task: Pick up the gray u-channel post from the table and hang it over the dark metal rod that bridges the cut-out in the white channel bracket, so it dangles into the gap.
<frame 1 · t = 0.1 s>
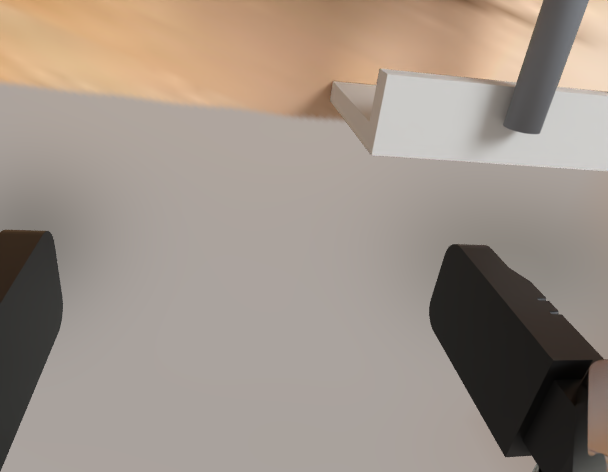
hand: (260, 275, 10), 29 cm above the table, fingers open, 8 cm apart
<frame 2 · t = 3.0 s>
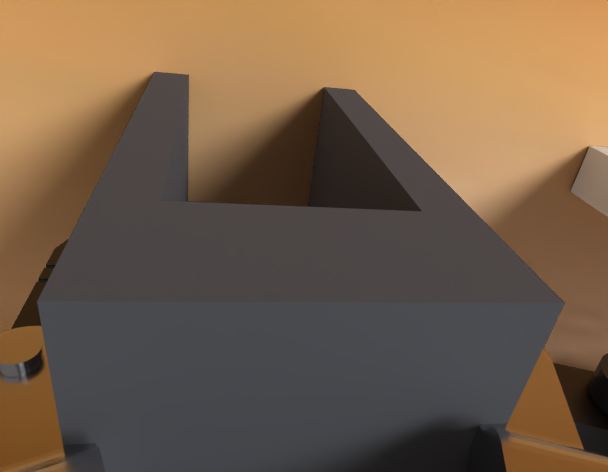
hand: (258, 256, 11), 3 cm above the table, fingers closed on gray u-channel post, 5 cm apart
gray u-channel post: (250, 190, 14), on the table, touching gripper
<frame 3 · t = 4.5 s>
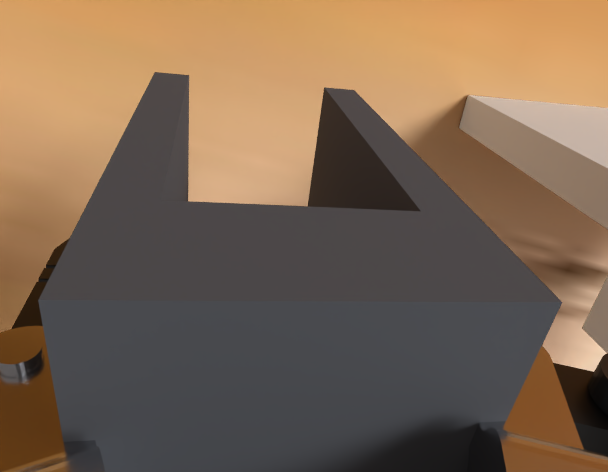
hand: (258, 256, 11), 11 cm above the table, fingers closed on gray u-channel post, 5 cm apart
white channel bracket: (548, 284, 28), on the table
gray u-channel post: (250, 190, 14), point 8 cm above the table, touching gripper
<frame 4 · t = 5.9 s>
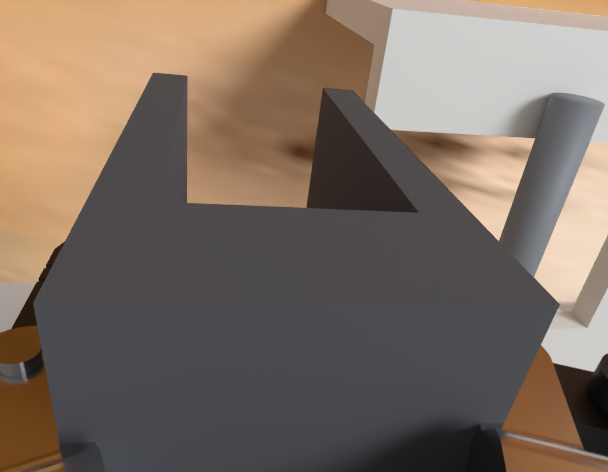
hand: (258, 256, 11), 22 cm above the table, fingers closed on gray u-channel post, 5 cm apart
white channel bracket: (421, 156, 34), on the table
gray u-channel post: (249, 191, 14), point 18 cm above the table, touching gripper
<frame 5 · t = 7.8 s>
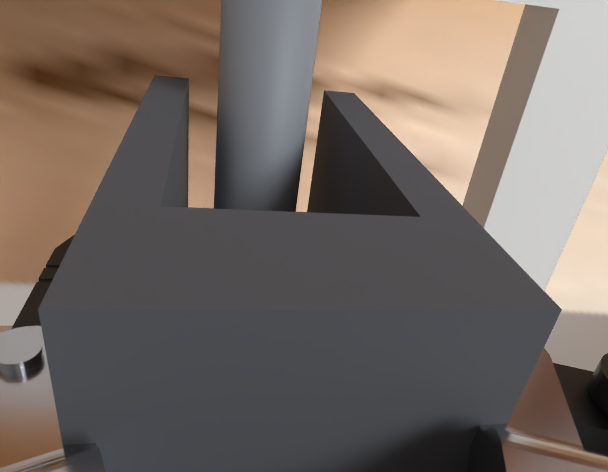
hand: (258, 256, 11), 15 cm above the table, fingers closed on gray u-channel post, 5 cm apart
white channel bracket: (236, 91, 23), on the table
gray u-channel post: (250, 193, 14), point 11 cm above the table, touching gripper
when the fingers open (11 cm above the table, at t = 9.0 s): gray u-channel post stays where it is, resting on white channel bracket.
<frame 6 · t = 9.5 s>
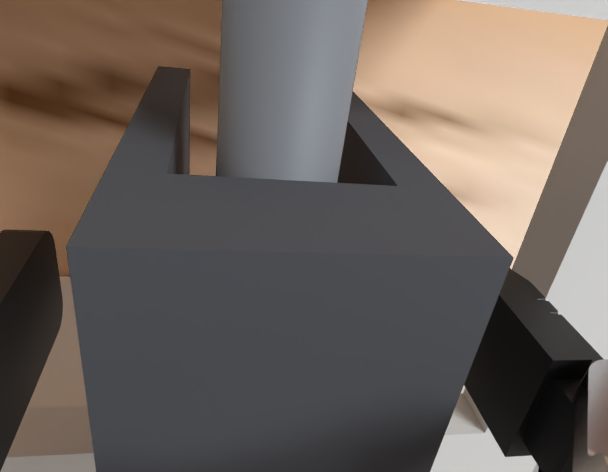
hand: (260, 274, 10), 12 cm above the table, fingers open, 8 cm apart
white channel bracket: (238, 111, 20), on the table
gray u-channel post: (248, 178, 15), point 7 cm above the table, touching white channel bracket
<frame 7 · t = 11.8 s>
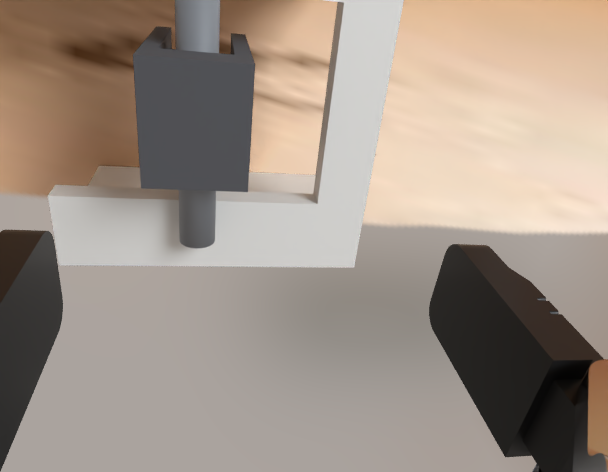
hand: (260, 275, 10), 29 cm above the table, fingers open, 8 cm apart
white channel bracket: (204, 61, 36), on the table
gray u-channel post: (201, 83, 30), point 7 cm above the table, touching white channel bracket
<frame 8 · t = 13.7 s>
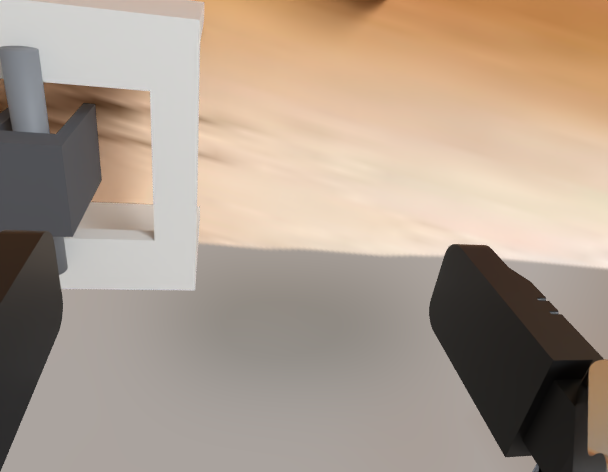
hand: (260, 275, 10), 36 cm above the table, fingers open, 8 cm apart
white channel bracket: (84, 114, 43), on the table
gray u-channel post: (63, 141, 37), point 7 cm above the table, touching white channel bracket
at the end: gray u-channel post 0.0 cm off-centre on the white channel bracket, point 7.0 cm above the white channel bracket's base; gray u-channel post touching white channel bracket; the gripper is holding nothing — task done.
